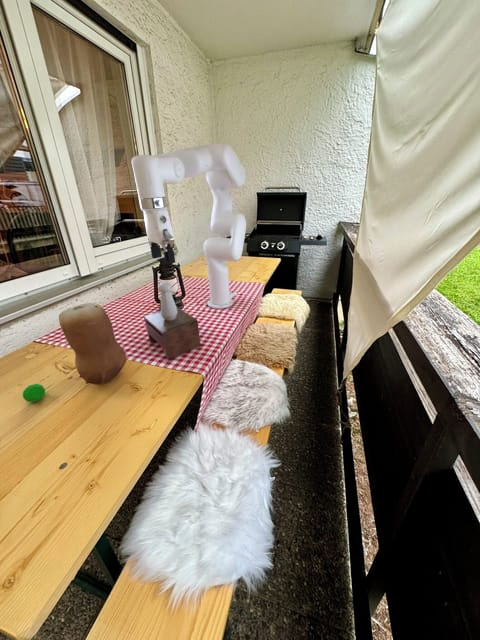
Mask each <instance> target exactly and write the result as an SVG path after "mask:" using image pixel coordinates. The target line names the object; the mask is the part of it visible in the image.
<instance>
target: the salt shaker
mask: <svg viewBox="0 0 480 640" xmlns="http://www.w3.org/2000/svg"><path fill="white" fill-rule="evenodd" d="M157 289H158V291H159V292H160V311H161V315H162V317H163V318H164V319H165V320H168V321H171V320H174V319H175V318H176V315H177V308H176V306H177V305H176V303H175V300H174V298H173V297H174V296H173V294H172V291H171V290H172V284H171V283H170V282H167V281H166V282H165V281H164V282H160V283H159V284H158V285H157Z"/></svg>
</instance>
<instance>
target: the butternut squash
mask: <svg viewBox="0 0 480 640" xmlns="http://www.w3.org/2000/svg"><path fill="white" fill-rule="evenodd" d="M58 322H59V326H60V328H61V331H62V333H63V336H64V338H65V340H66V341H67V343H68V345H69V347H70V348H71V349H72V350H73V352H74V354H75V356H74V357H75V358H74V365H75V368H76V371H77V373H78V375H79V376H80V377H81V379H83V381H85V382H86V383H87V384H90V385H91V384H92V385H103V384H107V383H109V382H110V381H112V380H113V379H115V378H116V377H117V376H118V374H119V373H120V372H121V370H122V369H123V368H124V367H125V365H126V363H127V354H126V352H125V349H124V348H123V347H122V345H120V344H119V342H118V341H117V339H116V336H115V332H114V328H113V327H114V326H113V323H112V321H111V319H110V317H109V315H108V313H107V311H106V309H105V308H104V307H103V306H102V305H100V304H99V303H96V302H86V303H82V304H79V305H75V306H72V307H68V308H66V309H65V310H62V311H61V312H60V313H59V315H58Z"/></svg>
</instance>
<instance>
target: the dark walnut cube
mask: <svg viewBox="0 0 480 640" xmlns="http://www.w3.org/2000/svg"><path fill="white" fill-rule="evenodd" d="M176 308H177V315H176V318H175V319H174V320H171V321H168V320H165V319H164V318H163V317H162V315H161V310H159V311H155V312H152V313H149V314H147V315H146V314H145V315H144V316H143V319H144V323H145V328H146V333H147V336H148V341H149V342H150V343H154V342H157V343H158V344H159V346H161V347H162V348H163V349H164V352H165V355H166V360H167V361H171V360H173V359H174V358H178V357H180V356H182V355H184V354H186V353H188V352H190V351H191V352H192V351H193V350H195V349H198V348H199V347H201V346H202V345H201V337H200V329H199V321H198V320H199V319H197V318H195V317H194V316H192V315H190V314H189V313H188V312H186V311H184V310H183V309H182V308H180V307H179V306H178V305H176Z"/></svg>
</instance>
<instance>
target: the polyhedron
mask: <svg viewBox="0 0 480 640" xmlns="http://www.w3.org/2000/svg"><path fill="white" fill-rule="evenodd" d="M45 395H46V389H45V387H44V386H43V385H42V384H39V383H35V384H33V383H32V384H30V385H28V386H27V387H25V389H24V390H23V391H22V398H23V399H24V400H25V401H26V402H29V403H35V402H38V401H40V400H42V399H43V398H44V396H45Z"/></svg>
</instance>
